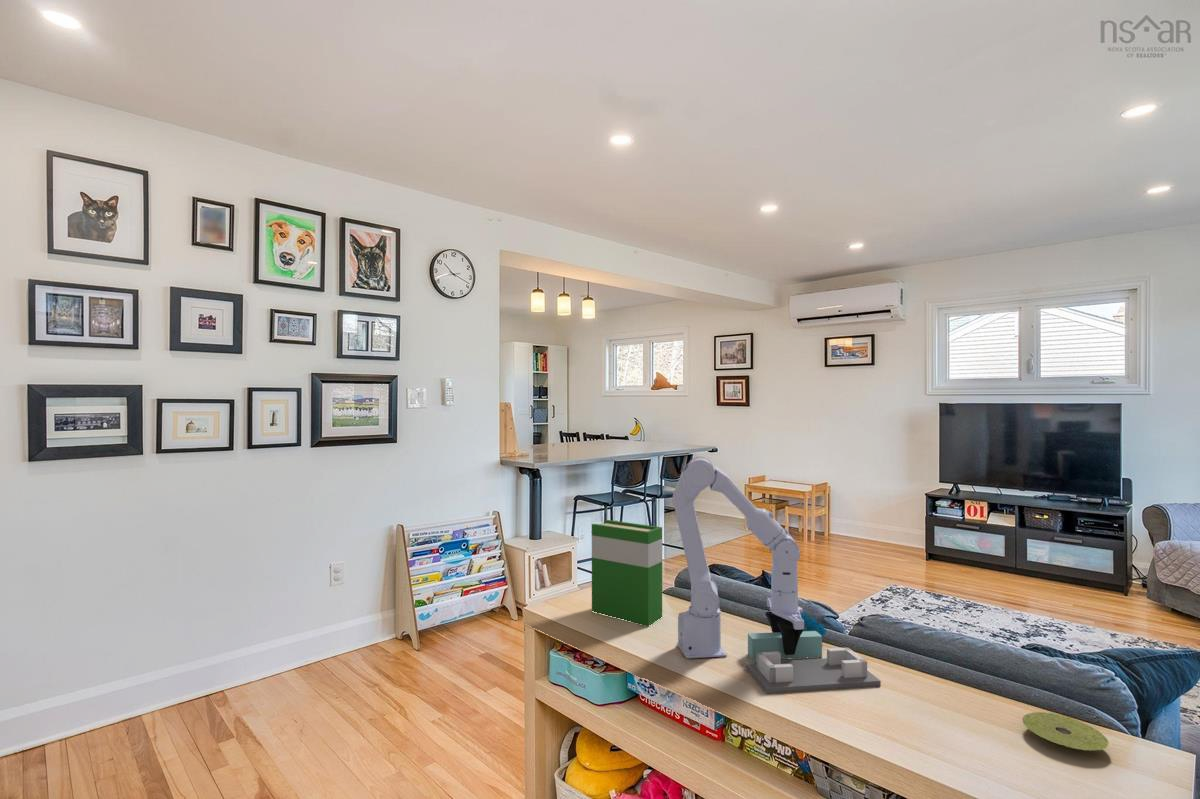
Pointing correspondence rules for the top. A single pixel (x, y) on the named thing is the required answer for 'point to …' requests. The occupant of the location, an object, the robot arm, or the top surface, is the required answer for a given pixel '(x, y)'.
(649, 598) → the hardback book
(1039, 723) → the mat
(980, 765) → the top surface
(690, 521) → the robot arm
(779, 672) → the cradle
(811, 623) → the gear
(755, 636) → the teal rectangular block
